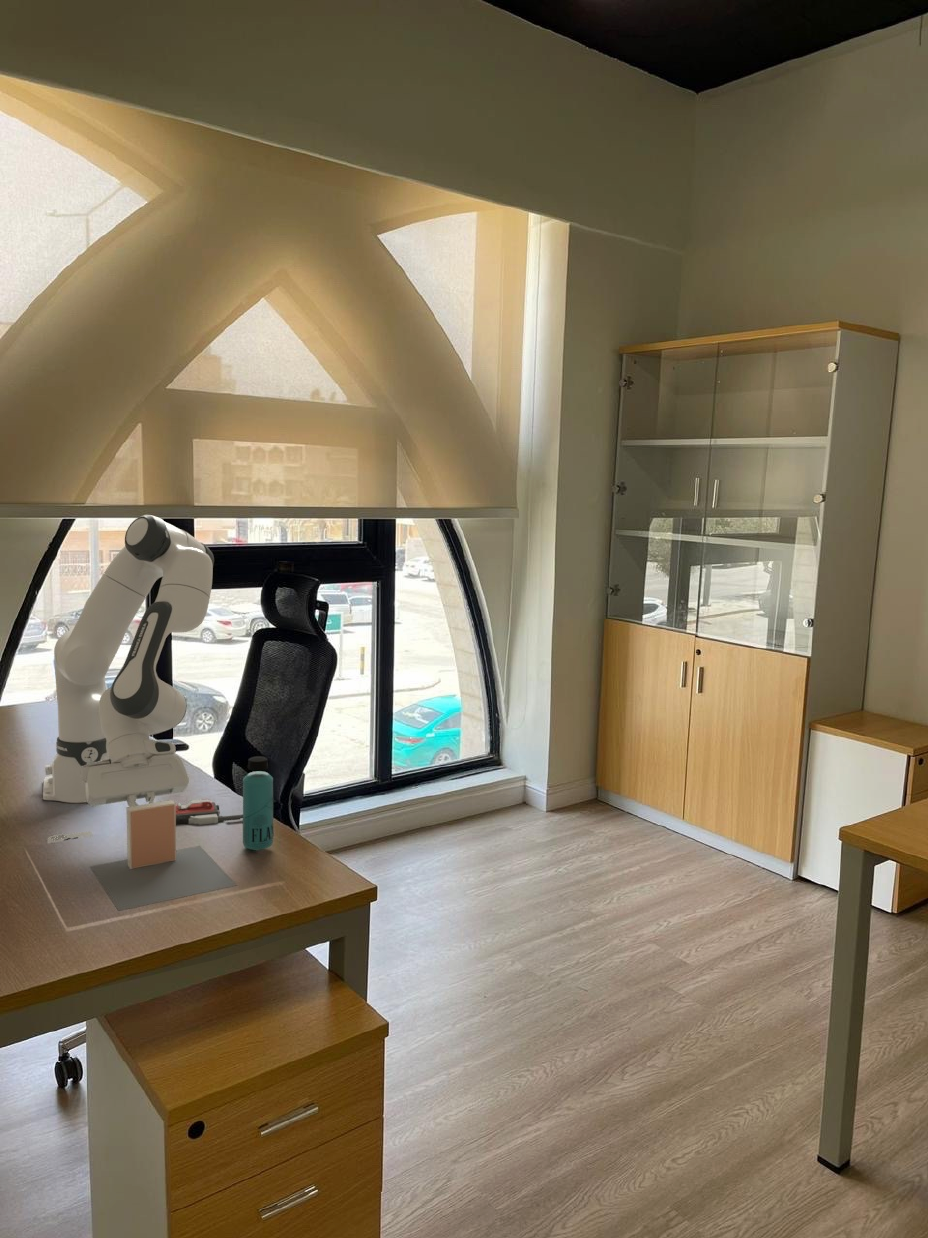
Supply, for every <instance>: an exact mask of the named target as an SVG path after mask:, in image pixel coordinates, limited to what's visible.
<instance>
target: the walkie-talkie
mask: <svg viewBox="0 0 928 1238" xmlns="http://www.w3.org/2000/svg"><path fill="white" fill-rule="evenodd" d="M175 808H176V825H177V824H189V825H192V824H194V825H209V824H218V823H220V822H229V821H236V820H237V821H238V820H241V819H243V814H235V815H234V814H233V815H224V816H223V815H220V814H221V811H220V805H219V804H216V803H215V802H212V801H211V799H209V798H201V799H192V800H190V801H188V802H187V803H186V804H182V803H181V802H177V805H175Z"/></svg>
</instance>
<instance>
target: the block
mask: <svg viewBox="0 0 928 1238" xmlns="http://www.w3.org/2000/svg"><path fill="white" fill-rule="evenodd" d="M175 806H176V802H175V801H174V800H173V799H170V800H163V801H159V802H153V803H150V804H149V803H146V804H138V806H132V807H129V806H126V808H125V809H126V845H127V846H126V848H127V849H126V850H127V851H126V852H127V853H126V855H127V860H128V867H129V868H130V869H133V868H138V867H143V866H149V865H154V864H159V863H164V862H169V861H174V860H176V850H177V831H176V830H177V824H176V808H175Z"/></svg>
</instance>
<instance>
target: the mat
mask: <svg viewBox="0 0 928 1238" xmlns="http://www.w3.org/2000/svg"><path fill="white" fill-rule="evenodd" d="M89 868H90V870H91V871H92V873H93V874H94V876H95V877H96V878H97V879H96V880H98V881H99V883H100V885H101V886H102V888H103V889H104V891H105V893H106V894H107V896H108V897H109V899H110V901H111V902H112V903H113V905H114V907H115V908H116V909H117V911H118V912H121V911H125V910H129V909H135V908H139V907H143V906H149V905H152V904H157V903H162V902H167V901H173V900H176V899H181V898H185V897H190V896H195V895H199V894H204V893H208V892H213V891H217V890H218V891H219V890H222V889H227V888H231V887H232V888H233V887H237V886H238V884H237V883H236V881H234V880H233V879H232V878H231V877H230V875H228V874H227V872H226V871H225V870H224V869H223V868H222V867H221V866H220V865H219V864H218V863H217V862H216V861H215V860H214V858H212V856H211V855H210V854H208V852H207V851H206V850H205V849H203V847H202V846H201V845H196V846H191V847H185V848H180V849H176V860H174V861H169V862H164V863H159V864H154V865H149V866H143V867H138V868H133V869H130V868H129V867H128V860H127V859H122V860H121V859H120V860H118V861H113V862H105V863H100V864H96V865H90V866H89Z"/></svg>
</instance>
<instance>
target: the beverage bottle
mask: <svg viewBox="0 0 928 1238" xmlns="http://www.w3.org/2000/svg"><path fill="white" fill-rule="evenodd" d="M268 769H269V763H268V758H267V757H265V756H259V755H258V756H257V755H256V756H251V757H250V758H248V763H247V770H248V771H252V772H249V773H247V774H246V775H245V776H244V777H243V778H242V815H243V818H242V844H243V847H244V848H246V849H248V850H265V849H267V848H270V847H271V846H272V845H273V842H274V837H275V834H274V832H275V831H274V830H275V829H274V823H275V822H274V815H275V814H274V810H275V809H274V799H275V796H274V777H273V776H272V775H271V774H270V773H268V772H266V771H265V770H268Z"/></svg>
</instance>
